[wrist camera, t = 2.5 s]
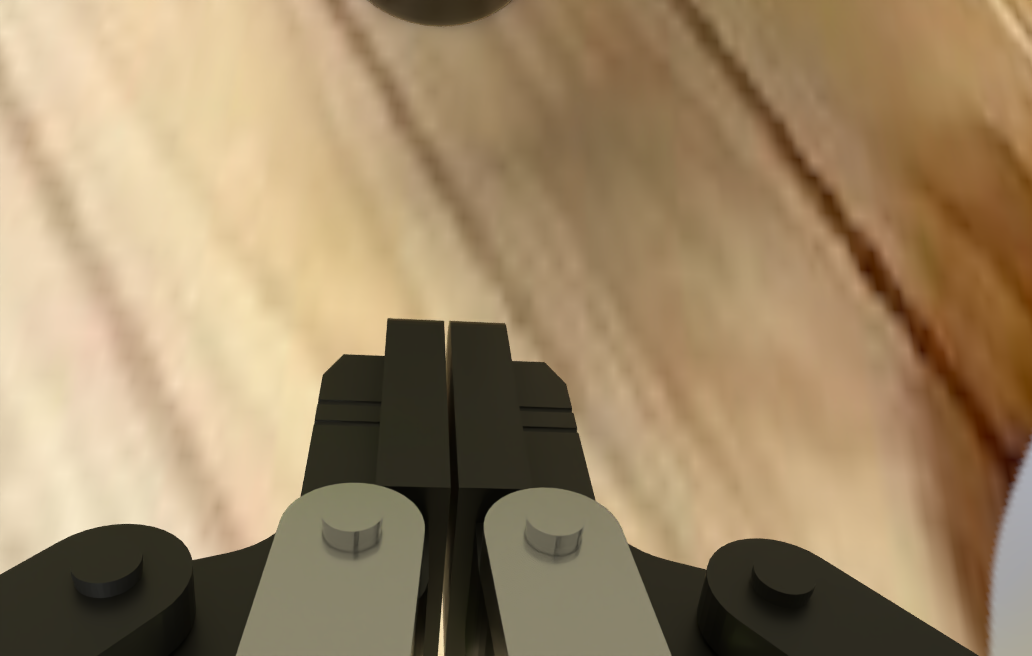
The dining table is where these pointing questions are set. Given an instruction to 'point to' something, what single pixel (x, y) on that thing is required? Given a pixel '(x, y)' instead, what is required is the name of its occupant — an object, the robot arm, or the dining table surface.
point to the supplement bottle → (440, 10)
